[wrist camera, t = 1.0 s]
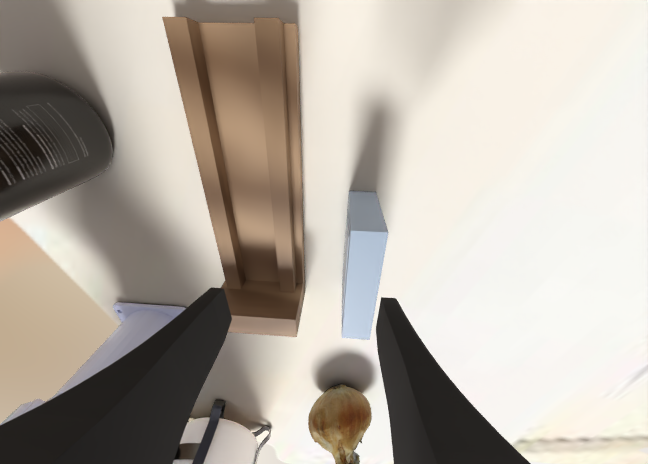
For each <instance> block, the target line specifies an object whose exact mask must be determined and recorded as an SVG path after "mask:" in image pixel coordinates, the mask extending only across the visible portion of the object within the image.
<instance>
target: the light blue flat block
mask: <svg viewBox="0 0 648 464" xmlns="http://www.w3.org/2000/svg"><path fill="white" fill-rule="evenodd" d="M387 237H388V230H387V227H386V223H385V220H384V217H383V214H382V210H381V207H380V204H379V200H378V197H377V194H376V192H362V191H349V197H348V209H347V223H346V236H345V250H344V263H343V277H342V338H353V339H367V340H369V339H370V334H371V328H372V322H373V317H374V311H375V305H376V300H377V294H378V288H379V283H380V277H381V271H382V266H383V260H384V254H385V248H386V243H387Z"/></svg>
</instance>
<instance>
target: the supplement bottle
mask: <svg viewBox="0 0 648 464" xmlns="http://www.w3.org/2000/svg"><path fill="white" fill-rule="evenodd" d="M112 156H113V148H112V143H111V139H110V136H109V133H108V131H107V129H106V127H105V125H104V124H103V122H102V120H101V119H100V117H99V116H98V115H97V113H96V112H95V111H94V110H93V108H92V107H91V106H90V105H89V104H88V103H87V102H86V101H85V100H84V99H83V98H82V97H81V96H79V95H78V94H77V93H76V92H74V91H73V90H72V89H70V88H69V87H67V86H66V85H64V84H62V83H61V82H59V81H57V80H55V79H53V78H50V77H48V76H45V75H42V74H39V73H34V72H26V71H13V72H0V221H3V220H5V219H7V218H9V217H11V216H13V215H15V214H18V213H20V212H22V211H24V210H26V209H28V208H30V207H33V206H35V205H37V204H39V203H41V202H43V201H45V200H48V199H50V198H52V197H54V196H56V195H58V194H60V193H63V192H65V191H67V190H69V189H71V188H73V187H75V186H77V185H80V184H82V183H84V182H86V181H88V180H90V179H92V178H94V177H96V176H98V175H100V174H102V173H103V172H104V171H106V170H107V168H108V167H109V165H110V163H111V161H112Z"/></svg>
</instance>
